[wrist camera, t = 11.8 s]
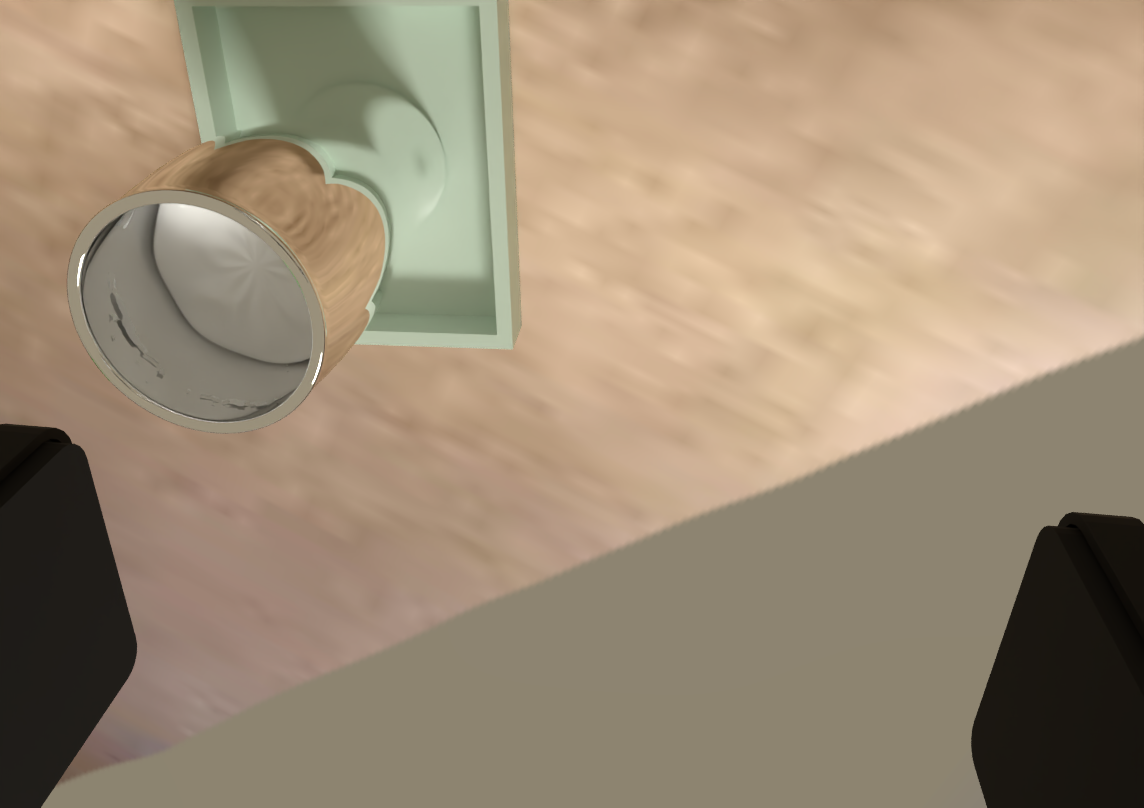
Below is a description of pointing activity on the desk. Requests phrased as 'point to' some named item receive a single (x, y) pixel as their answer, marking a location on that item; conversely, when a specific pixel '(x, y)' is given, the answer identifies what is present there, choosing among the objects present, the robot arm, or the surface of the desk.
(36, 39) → the desk surface
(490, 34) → the tray
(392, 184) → the beer glass
